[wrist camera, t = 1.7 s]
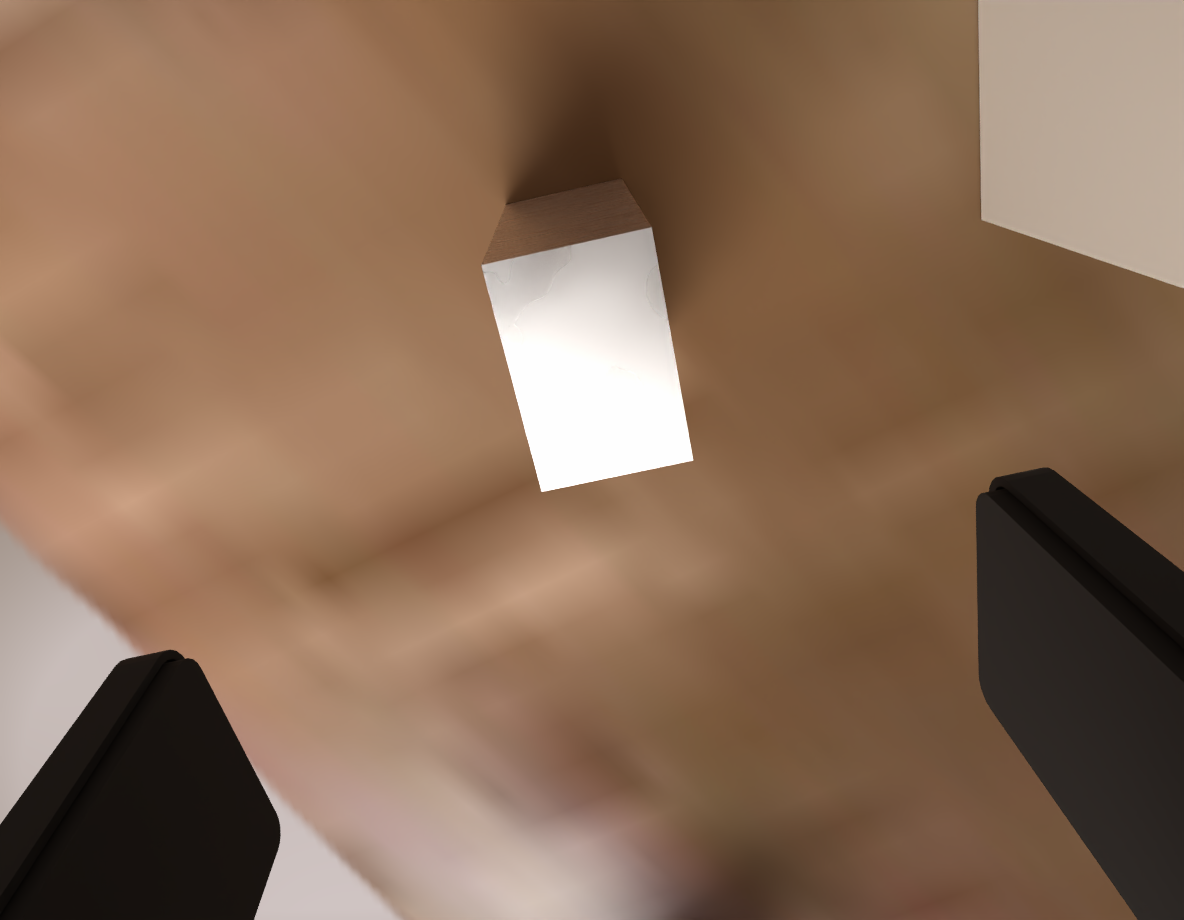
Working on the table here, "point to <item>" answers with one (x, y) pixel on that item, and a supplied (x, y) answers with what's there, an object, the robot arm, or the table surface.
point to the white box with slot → (1086, 127)
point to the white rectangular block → (587, 335)
